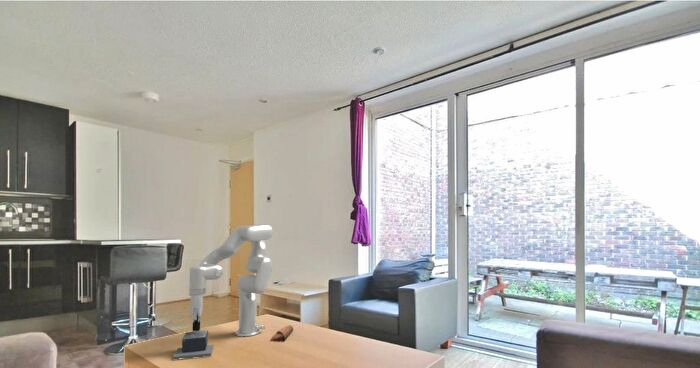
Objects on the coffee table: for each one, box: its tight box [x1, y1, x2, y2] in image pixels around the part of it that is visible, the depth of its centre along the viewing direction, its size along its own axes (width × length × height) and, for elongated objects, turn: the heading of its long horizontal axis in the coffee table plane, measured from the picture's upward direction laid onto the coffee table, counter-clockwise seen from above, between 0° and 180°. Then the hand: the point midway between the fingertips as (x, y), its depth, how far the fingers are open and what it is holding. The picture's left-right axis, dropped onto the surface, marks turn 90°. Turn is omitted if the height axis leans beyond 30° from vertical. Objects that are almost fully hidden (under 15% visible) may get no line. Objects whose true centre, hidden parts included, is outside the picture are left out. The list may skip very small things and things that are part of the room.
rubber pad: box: [172, 344, 214, 360], centre depth 174 cm, size 16×12×2 cm
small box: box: [181, 330, 209, 352], centre depth 178 cm, size 11×6×10 cm
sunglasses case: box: [269, 324, 294, 343], centre depth 200 cm, size 18×7×7 cm, turn 175°
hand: (196, 330), depth 181 cm, fingers closed
